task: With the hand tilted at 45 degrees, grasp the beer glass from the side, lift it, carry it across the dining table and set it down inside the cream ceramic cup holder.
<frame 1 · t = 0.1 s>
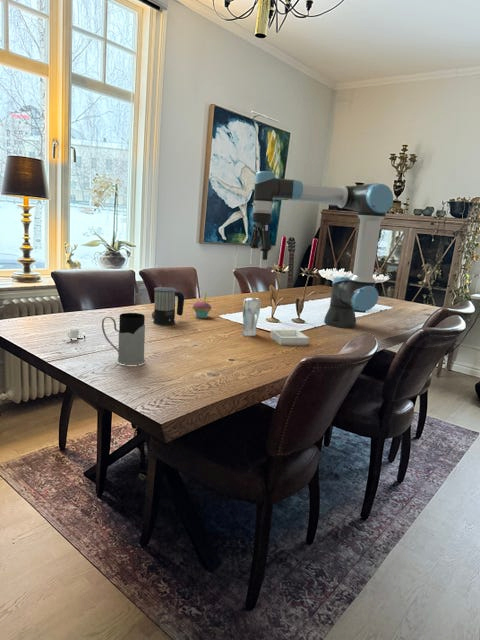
hand: (258, 266, 177), 28 cm above the table, tool pointing down, fingers open, 13 cm apart
milk frother: (161, 320, 190), on the table
glass holder: (123, 361, 137), on the table
cup holder: (288, 340, 174), on the table
cupcake: (201, 317, 202), on the table
beer glass: (249, 335, 178), on the table
teacup and saucer: (83, 341, 154), on the table
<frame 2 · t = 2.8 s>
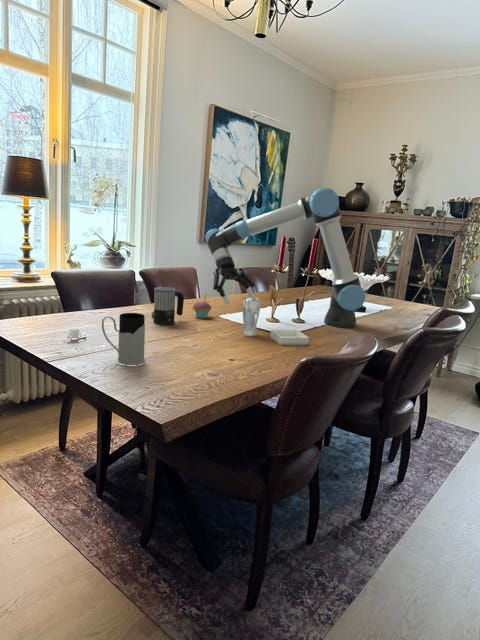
hand: (241, 302, 180), 12 cm above the table, tool tilted 45°, fingers open, 13 cm apart
nothing on the table moved.
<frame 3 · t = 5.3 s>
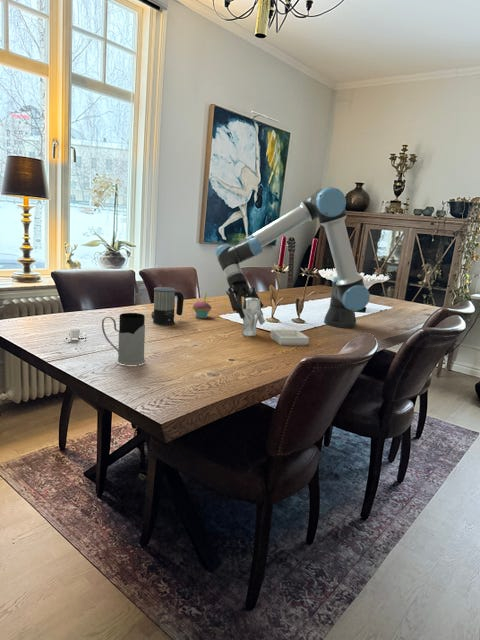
hand: (255, 323, 174), 6 cm above the table, tool tilted 45°, fingers closed on beer glass, 7 cm apart
beer glass: (249, 335, 178), on the table, touching gripper
everything else where it was.
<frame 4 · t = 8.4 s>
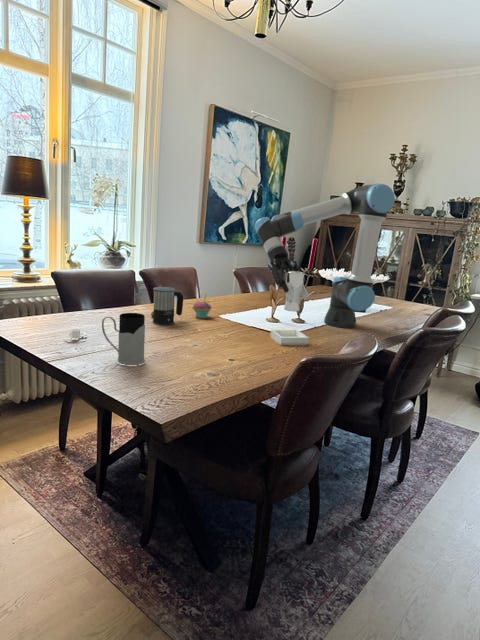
hand: (299, 297, 167), 18 cm above the table, tool tilted 45°, fingers closed on beer glass, 7 cm apart
beer glass: (291, 310, 171), point 13 cm above the table, touching gripper
everything else where it was.
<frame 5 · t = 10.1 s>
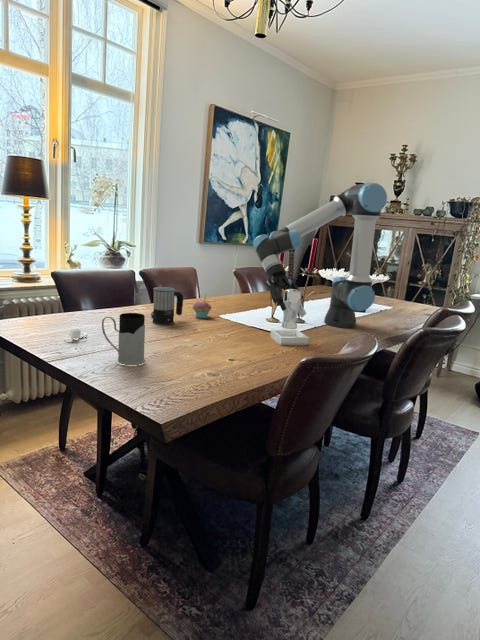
hand: (296, 316, 169), 11 cm above the table, tool tilted 45°, fingers closed on beer glass, 7 cm apart
beer glass: (289, 327, 173), point 5 cm above the table, touching gripper
everything else where it was.
when the fingers open (7 cm above the table, at t = 11.4 s): beer glass drops 1 cm, resting on cup holder.
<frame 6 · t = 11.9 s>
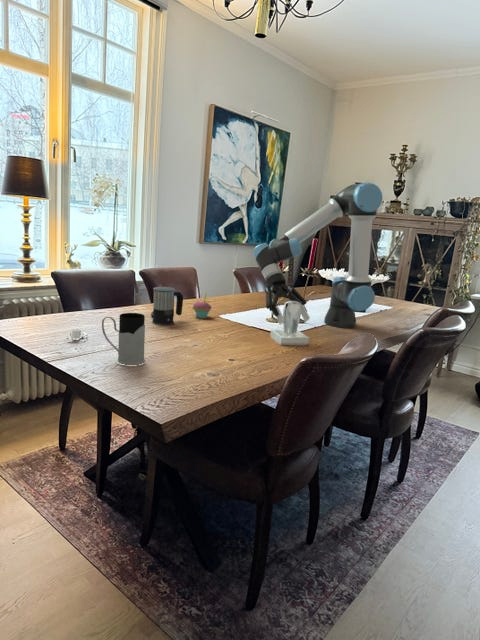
hand: (295, 321, 170), 9 cm above the table, tool tilted 45°, fingers open, 13 cm apart
beer glass: (289, 339, 174), point 1 cm above the table, touching cup holder
everything else where it was.
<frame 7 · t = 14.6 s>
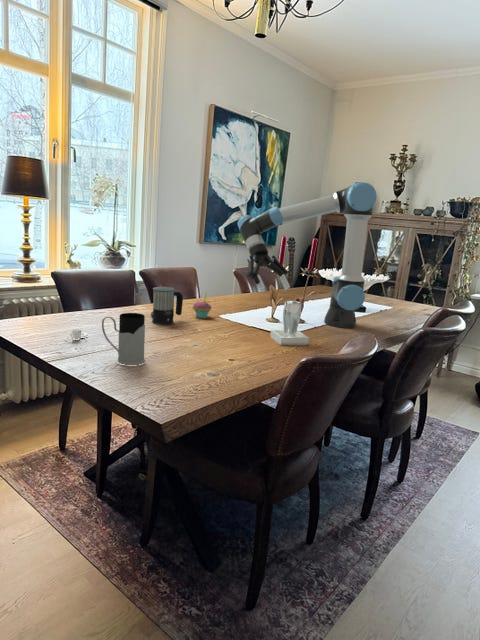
hand: (275, 289, 179), 19 cm above the table, tool tilted 45°, fingers open, 13 cm apart
nothing on the table moved.
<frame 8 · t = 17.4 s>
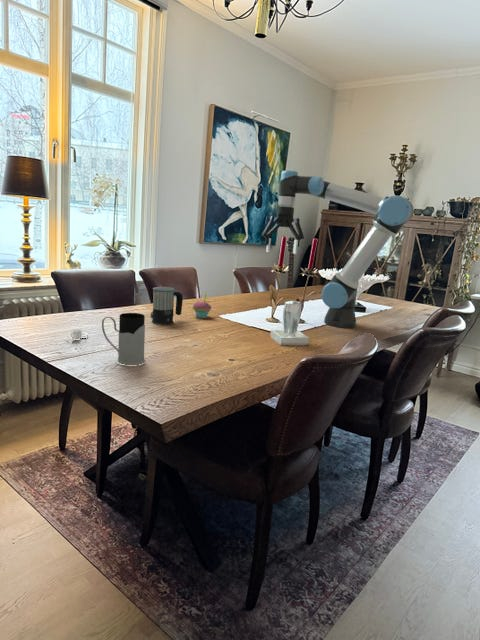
hand: (281, 253, 203), 32 cm above the table, tool pointing down, fingers open, 13 cm apart
nothing on the table moved.
at the end: beer glass 0.1 cm off-centre on the cup holder, point 0.6 cm above the cup holder's base; beer glass tilted 0°; the gripper is holding nothing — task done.
